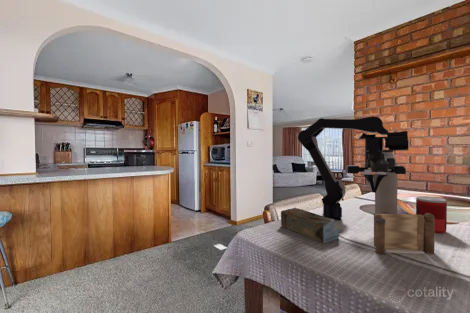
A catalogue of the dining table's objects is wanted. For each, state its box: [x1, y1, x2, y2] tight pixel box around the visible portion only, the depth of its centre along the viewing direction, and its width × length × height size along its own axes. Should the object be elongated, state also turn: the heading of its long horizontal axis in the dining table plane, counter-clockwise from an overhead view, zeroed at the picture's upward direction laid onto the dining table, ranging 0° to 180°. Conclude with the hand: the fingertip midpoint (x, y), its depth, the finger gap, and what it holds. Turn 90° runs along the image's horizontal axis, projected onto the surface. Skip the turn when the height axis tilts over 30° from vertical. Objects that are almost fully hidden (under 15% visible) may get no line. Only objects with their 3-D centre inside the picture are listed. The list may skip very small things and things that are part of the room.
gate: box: [373, 213, 424, 251], centre depth 62 cm, size 12×1×9 cm, turn 83°
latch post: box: [375, 218, 386, 255], centre depth 61 cm, size 2×2×9 cm
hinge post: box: [422, 213, 436, 255], centre depth 61 cm, size 2×2×11 cm
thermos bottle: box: [374, 149, 399, 214], centre depth 96 cm, size 8×8×28 cm
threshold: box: [385, 248, 425, 255], centre depth 62 cm, size 10×3×1 cm, turn 84°
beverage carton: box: [280, 207, 340, 244], centre depth 77 cm, size 8×19×7 cm, turn 31°
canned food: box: [415, 195, 448, 235], centre depth 77 cm, size 8×8×11 cm
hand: (373, 192), depth 84 cm, fingers closed
